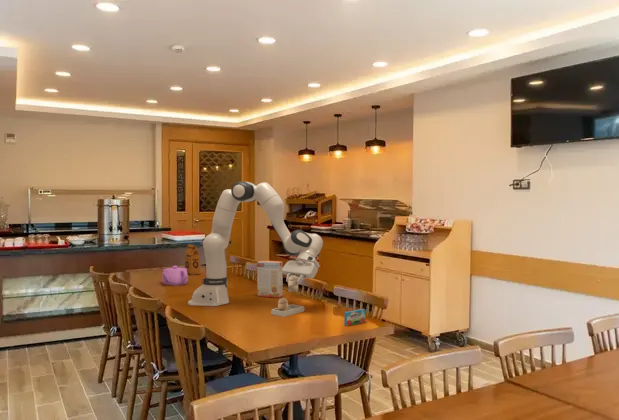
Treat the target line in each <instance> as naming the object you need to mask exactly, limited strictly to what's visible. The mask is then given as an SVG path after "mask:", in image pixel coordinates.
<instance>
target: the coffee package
mask: <svg viewBox="0 0 619 420" xmlns="http://www.w3.org/2000/svg"><path fill="white" fill-rule="evenodd" d="M187 247H188V248H187V250H186V252H185V254H184V268H187V275H190V276H196V275H195V274H199V275H201V257H200V254H199V251H198V248H197V245H195V244H188V245H187Z"/></svg>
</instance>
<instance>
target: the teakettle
mask: <svg viewBox="0 0 619 420" xmlns="http://www.w3.org/2000/svg"><path fill="white" fill-rule="evenodd" d="M161 271H162V272H161V274H162V275H161V276H162V278H161V282H162V285H163V284H165V286H169V285H173V286H172V287H178V286H177V285H180V286H184V285H183V284H185V285H187V284H188V283H189V276H188V275H189V274H188V273H187V268H185V267H178V265H172V267H167V268H163V269H162V270H161Z"/></svg>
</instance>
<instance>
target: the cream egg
mask: <svg viewBox="0 0 619 420" xmlns="http://www.w3.org/2000/svg"><path fill="white" fill-rule="evenodd" d="M298 278H299V277H297V276H295V275H292V276H290V277H289V279H288V282H287V285H288V287H287V292H289V293H292V292H293V293H296V292H299V284H298V283H296V279H298Z"/></svg>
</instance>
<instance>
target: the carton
mask: <svg viewBox="0 0 619 420" xmlns="http://www.w3.org/2000/svg"><path fill="white" fill-rule="evenodd" d="M302 312H303V313H304V312H305V306H303V305H298V304H293V303H292V304H288V311H284V312H283V311H278V307H276V308H272V309H271V312H270V313H271V314H270V315H272V316H277V317H282V318H284V317H289V316H291V315H295V314H296V315H297V314H299V313H302Z"/></svg>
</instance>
